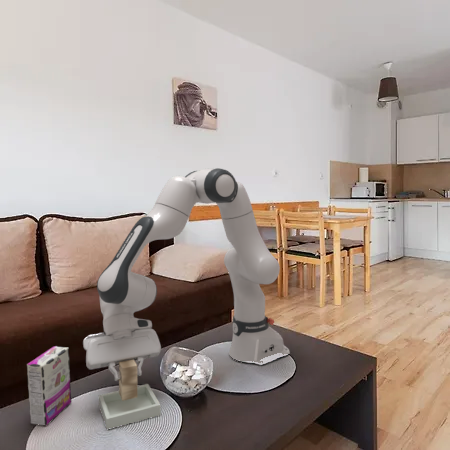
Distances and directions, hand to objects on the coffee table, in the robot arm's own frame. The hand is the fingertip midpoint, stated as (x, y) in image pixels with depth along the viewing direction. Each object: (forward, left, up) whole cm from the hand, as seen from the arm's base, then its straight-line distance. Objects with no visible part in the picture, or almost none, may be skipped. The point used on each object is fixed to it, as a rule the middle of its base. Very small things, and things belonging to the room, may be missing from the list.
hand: (128, 377), depth 103 cm
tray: (0, -1, -10) cm, 10 cm away
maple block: (0, -1, -5) cm, 5 cm away
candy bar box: (+19, -9, -10) cm, 23 cm away
